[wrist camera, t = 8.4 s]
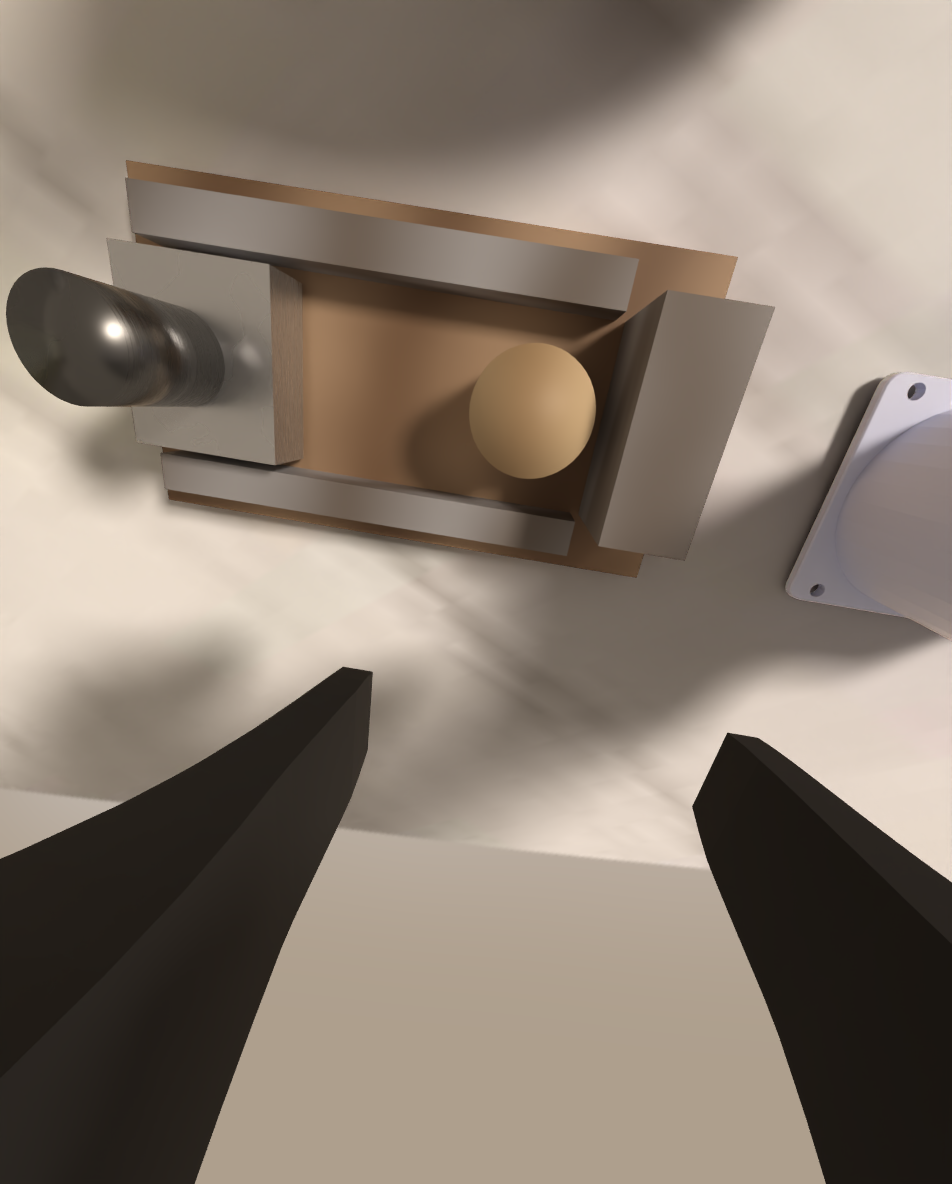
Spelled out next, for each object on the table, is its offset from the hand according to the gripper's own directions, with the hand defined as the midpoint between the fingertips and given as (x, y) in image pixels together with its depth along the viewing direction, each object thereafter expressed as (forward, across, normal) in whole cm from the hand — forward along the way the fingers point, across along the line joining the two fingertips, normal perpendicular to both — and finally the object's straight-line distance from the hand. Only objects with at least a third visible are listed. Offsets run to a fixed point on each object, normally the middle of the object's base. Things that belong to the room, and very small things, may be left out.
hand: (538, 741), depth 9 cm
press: (+10, +5, -6) cm, 13 cm away
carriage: (+8, +11, -6) cm, 15 cm away
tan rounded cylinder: (+9, +1, -6) cm, 11 cm away
